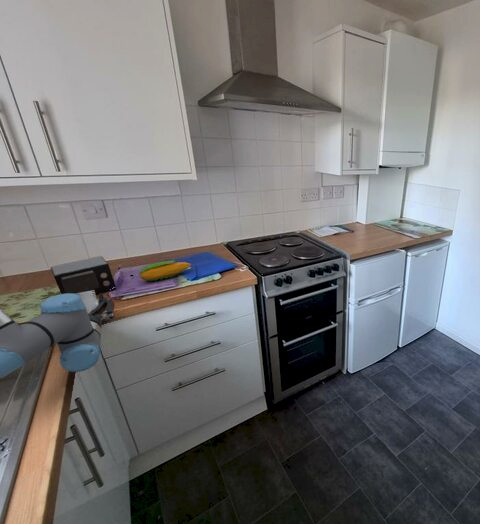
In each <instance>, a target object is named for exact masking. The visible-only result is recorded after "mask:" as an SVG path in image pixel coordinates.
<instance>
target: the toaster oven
mask: <svg viewBox="0 0 480 524" xmlns="http://www.w3.org/2000/svg"><path fill="white" fill-rule="evenodd" d="M50 270H51V273H52V275H53V278H54V280H55V283H56V285H57V287H58V290H59V292H60V294H67V293H70V294H76V293H81V292H87V291H92V290H94V291H92V292H95V293H92V294H95V295H96V296H97V295H99V293H103V294H104V293H107V292H111V291H115V290H116V289H117V285H116V282H115V280H114V276H113V274H112V270H111V267H110V265H109V263H108V261H106V260H105V258H104V257H103V256H101V255H98V256H94V257H89V258H84V259H80V260H75V261H70V262H66V263H65V262H64V263H60V264H56V265H52V266H50ZM113 287H116V288H115V289H112V288H113ZM110 289H111V290H110ZM77 295H79V294H77Z"/></svg>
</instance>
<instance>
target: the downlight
mask: <svg viewBox="0 0 480 524" xmlns="http://www.w3.org/2000/svg"><path fill="white" fill-rule="evenodd" d="M92 291H94V290H92ZM92 291H87V292H81V293H76V294H79V296H80V297H81V299H82V301H83V303H84V305H85V307H86V310H87V313H90V312H91V311H92V310H94V309H95V308H96V307H97V306H98V305H99V304H100V303H99V299H97V295H95V294H92V293H95V292H92ZM102 315H104V313H103V314H102Z"/></svg>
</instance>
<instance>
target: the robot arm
mask: <svg viewBox="0 0 480 524" xmlns="http://www.w3.org/2000/svg"><path fill="white" fill-rule="evenodd" d="M98 295H99V296H98V300H99V303H100V304H99V305H98V306H97V307H96V308H95V309H94V310H92V311H91V312H90V313H87V310H86V307H85V305H84V303H83V301H82V299H81V297H80V296H79V295H77V294H70V293H67V294H61V293H60V294H57V295H53V296H51V297H48V298H46V299H45V300H43V301H42V302H41V303H40V305H39V307H40V312H41V314H39V315H37V316H35V317H34V318H32V319H30V320H28V321H26V322H24V323H22V324H19V323H18V322H17V321H15V320H14V319H13V318H12V317H11V316H9V315H8V314H7V313H6V312H5V310H4V309H2V308H1V307H0V379H3V378H5V377H7V376H8V375H10V374H11V373H13V372H14V371H17V370H19V369H21V368H23V367H24V366H25V365H26V364H27V363H29V362H30V361H32V360H33V359H35V358H37V357H38V356H39V355H41V354H43V353H45V351H47V350H49V349H50V348H52V347H54V346H55V345H57V346H58V349H59V351H60V355H59V360H60V366H61V367H62V369H64V370H65V371H67V372H72V373H79V372H84V371H87V370H89V369H91V368H92V367H94V366H95V365H96V364H97V362H98V361H99V358H100V355H101V352H102V350H101V341H102V340H101V339H102V327H103V326H102V325H103V322H104V320H105V319H110V320H112V319H114V318H115V315H114V311H115V306H116V305H115V302H114V299H113V298H110V299H108V297H106V296H105V297H104V293H99V294H98ZM102 314H103V315H102Z"/></svg>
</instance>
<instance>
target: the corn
mask: <svg viewBox="0 0 480 524" xmlns="http://www.w3.org/2000/svg"><path fill="white" fill-rule="evenodd" d="M191 265H192V264H191V263H189V262H185V261H183V262H182V261H181V262H177V260H165V261H160V262H156V263H152V264H148V265H146V266H144V267H143V268H142V269H141V270H140V272H139V277H140V279H142V280H143V281H147V282H155V281H160V280H164V279H163V278H165V279H169V278H173V277H176V276H177V275H178V274H180V273H182V272H184V271H186V270H188V269H189V268H190V267H191ZM168 277H169V278H168ZM158 279H160V280H158ZM153 280H154V281H153Z"/></svg>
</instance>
